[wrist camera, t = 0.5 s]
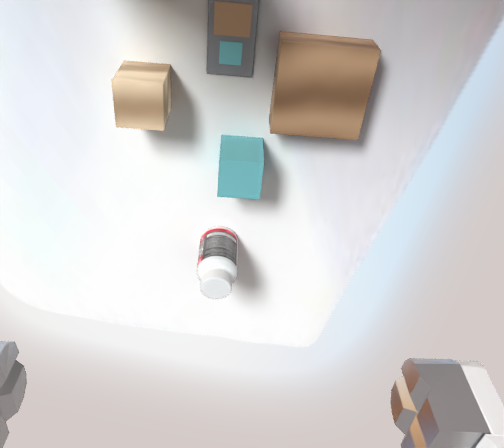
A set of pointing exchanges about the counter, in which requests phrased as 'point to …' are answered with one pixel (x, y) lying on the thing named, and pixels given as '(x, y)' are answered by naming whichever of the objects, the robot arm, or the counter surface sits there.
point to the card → (231, 37)
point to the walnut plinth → (321, 85)
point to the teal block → (240, 167)
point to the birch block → (142, 95)
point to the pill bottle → (217, 261)
